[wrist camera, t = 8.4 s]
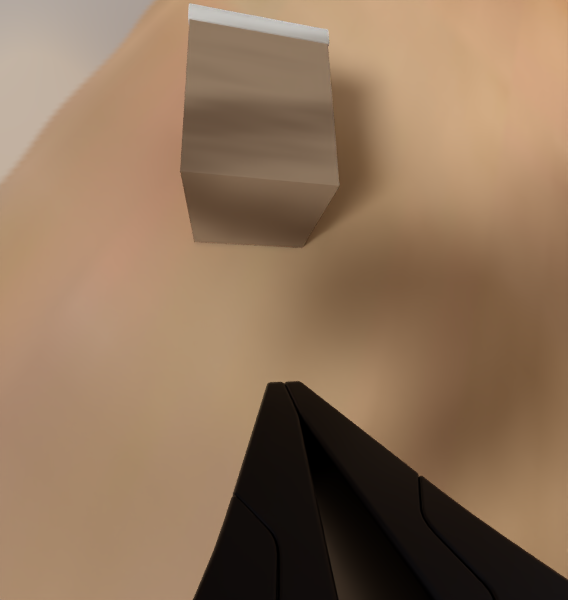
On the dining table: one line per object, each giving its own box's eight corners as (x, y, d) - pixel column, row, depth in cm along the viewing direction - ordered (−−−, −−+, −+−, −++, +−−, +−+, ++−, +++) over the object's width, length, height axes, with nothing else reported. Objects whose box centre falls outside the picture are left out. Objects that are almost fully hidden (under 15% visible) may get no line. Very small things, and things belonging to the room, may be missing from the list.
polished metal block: (341, 185, 12) (328, 29, 14) (178, 170, 11) (188, 3, 13) (302, 247, 18) (297, 131, 20) (193, 242, 17) (199, 119, 19)
